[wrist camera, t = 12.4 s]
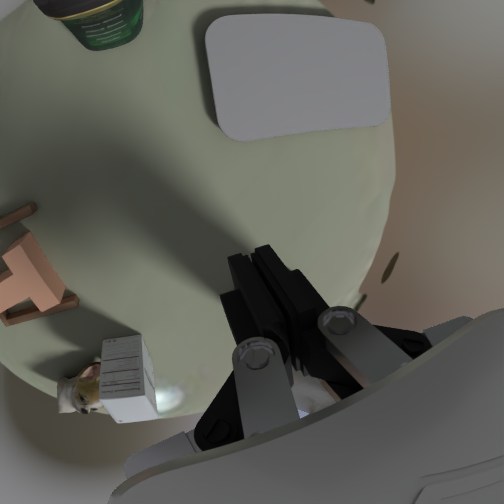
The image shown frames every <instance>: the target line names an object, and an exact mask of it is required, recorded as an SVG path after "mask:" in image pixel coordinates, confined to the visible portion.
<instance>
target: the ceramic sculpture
mask: <svg viewBox="0 0 504 504" xmlns="http://www.w3.org/2000/svg"><path fill="white" fill-rule="evenodd" d="M100 368H101V362H93V363H89V364H87V365H86V366H85V367H84V368H83V369H82V370H81V371H80V372H79V374H78V375H77V376H76V377H73V378H71V379H68V378H66V377H62V378H61V379H60V380H59V381H58V385H57V406H58V412H59V413H63V412H73V411H78V412H80V413H82V414H88V413H89V412H90V411H94V410H98V409H99V408H103V407H104V406H103V405H102V403H101V402H100V401H99V382H100Z"/></svg>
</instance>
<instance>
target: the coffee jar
mask: <svg viewBox="0 0 504 504" xmlns="http://www.w3.org/2000/svg"><path fill="white" fill-rule="evenodd" d="M33 1H34V3H35V4H36V5H37V6H38V8H39V9H40V10H41V11H42V12H43V13H44V14H45V15H46V16H48V17H49V18H52V19H55V20H61V22H62V23H63V24H64V25H65V26H66V27H67V28H68V29H69V30H70V31H71V32H72V33H73V34H74V35H75V37H76V38H77V39H78V40H79V42H80V43H81V44H82V45H83V46H84V47H86V48H87V49H89V50H93V51H100V50H106V49H110V48H114V47H118V46H121V45H124V44H126V43H128V42H130V41H132V40H133V39H134V38H135V37H136V36H137V35H138V34H139V32H140V31H141V28H142V24H143V0H33Z"/></svg>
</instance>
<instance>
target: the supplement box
mask: <svg viewBox="0 0 504 504" xmlns="http://www.w3.org/2000/svg"><path fill="white" fill-rule="evenodd" d="M99 401H100V402H101V403H102V405H103V406H104V407H105V409H106V410H107V411H108V413H109V414H110V415H111V416H112V417H113V419H114V420H115V421H116V422H117V423H128V422H137V421H146V420H153V419H158V412H157V404H156V396H155V386H154V377H153V366H152V360H151V358H150V356H149V354H148V351H147V349H146V346H145V343H144V341H143V337H142V335H133V336H126V337H119V338H112V339H106V340H103V344H102V355H101V368H100V382H99Z"/></svg>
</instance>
